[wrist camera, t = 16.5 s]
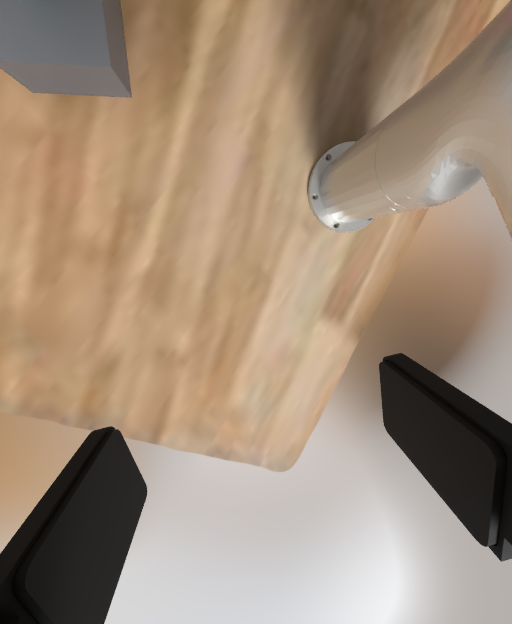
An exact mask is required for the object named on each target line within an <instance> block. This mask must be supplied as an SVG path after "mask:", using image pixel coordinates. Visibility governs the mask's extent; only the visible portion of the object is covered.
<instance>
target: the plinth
mask: <svg viewBox="0 0 512 624" xmlns="http://www.w3.org/2000/svg"><path fill="white" fill-rule="evenodd" d="M0 68H1V69H2V70H4V71H5V72H6V73H8V74H9V75H10V76H12V77H13V78H14V79H16V80H17V81H18V82H19V83H21V84H22V85H23V86H25V87H26V88H27V89H29V90H30V91H31V92H33V93H48V94H69V95H90V96H110V97H131V98H132V94H131V86H130V78H129V70H128V62H127V54H126V46H125V38H124V30H123V22H122V14H121V5H120V0H0Z"/></svg>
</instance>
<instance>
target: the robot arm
mask: <svg viewBox="0 0 512 624" xmlns="http://www.w3.org/2000/svg"><path fill="white" fill-rule="evenodd" d="M326 158H328V161H327V160H326ZM481 177H484V179H485V181H486V183H487V185H488V187H489V190H490V192H491V194H492V196H493V197H494V198H495V200H496V202H497V205H498V207H499V210H500V212H501V215H502V217H503V220H504V222H505V224H506V227H507V229H508V232H509V234H510V236H511V239H512V0H511V1H510V2H509V3H508V4H507V5H506V6H505V7H504V8H503V9H502V10H501V11H500V12H499V14H498V15H497V16H496V17H495V18H494V19H493V20H492V21H491V22H490V23H489V24H488V25H487V26H486V27H485V28H484V29H483V30H482V31H481V33H480V34H479V35H478V36H477V37H476V38H475V39H474V40H473V41H472V42H471V43H470V44H469V45H468V46H467V47H466V48H465V49H464V50H463V51H462V52H461V53H460V54H459V55H458V56H457V57H456V58H455V59H454V60H453V61H452V62H451V63H450V64H449V65H448V66H447V67H445V68H444V69H443V70H442V71H441V72H440V73H439V74H437V75H436V76H435V77H434V78H433V79H432V80H431V81H429V82H428V83H427V84H426V85H425V86H424V87H423V88H421V89H420V90H419V91H418V92H417V93H416V94H414V95H413V96H412V97H411V98H409V99H408V100H407V101H406V102H405V103H403V104H402V105H401V106H400V107H398V108H397V109H396V110H395V111H394V112H392V113H391V114H390V115H389V116H387V117H386V118H385V119H384V120H382V121H381V122H380V123H379V124H378V125H376V126H375V127H374V128H373V129H371V130H370V131H369V132H368V133H366V134H365V135H364V136H363V137H362V138H360V139H359V140H358V141H348V142H343V143H340V144H337V145H336V146H334V147H332V148H331V149H329V150H328V151H327V152H326V153H325V154H324V155H323V156H322V157H321V158H320V159H319V160H318V162H317V163H316V165H315V166H314V168H313V171H312V173H311V175H310V179H309V183H308V200H309V204H310V208H311V210H312V212H313V214H314V216H315V218H316V219H317V220H318V221H319V222H320V223H321V224H322V225H323V226H324V227H326V228H328V229H329V230H332V231H335V232H342V233H346V232H353V231H357V230H360V229H362V228H364V227H366V226H367V225H368V224H370V223H371V222H372V221H373V220H374V219H375V218H376V217H380V216H386V215H391V214H397V213H402V212H408V211H413V210H419V209H424V208H429V207H434V206H437V205H441V204H444V203H446V202H448V201H451V200H453V199H455V198H456V197H458V196H459V195H461V194H463V193H464V192H466V191H467V190H468V189H470V188H471V187H472V186H473V185H474V184H475V183H476V182H477V181H479V180H480V179H481ZM313 196H315V199H313V198H312V197H313ZM334 224H335V225H336V226H335V227H334ZM379 370H380V383H381V396H382V409H383V420H384V421H383V422H384V426H385V428H386V431H387V432H388V434H389V435H390V436H391V437H392V439H393V440H394V441H395V442H396V443H397V445H398V446H399V447H400V448H401V449H402V451H403V452H404V453H405V454H406V456H407V457H408V458H409V459H410V460H411V462H412V463H413V464H414V465H415V466H416V468H417V469H418V470H419V471H420V472H421V474H422V475H423V476H424V477H425V479H426V480H427V481H428V482H429V483H430V485H431V486H432V487H433V488H434V490H435V491H436V492H437V493H438V494H439V496H440V497H441V498H442V499H443V500H444V501H445V503H446V504H447V505H448V506H449V508H450V509H451V510H452V511H453V513H454V514H455V515H456V516H457V517H458V519H459V520H460V521H461V522H462V523H463V525H464V526H465V527H466V528H467V529H468V531H469V532H470V533H471V534H472V536H473V537H474V538H475V539H476V540H477V541H478V542H479V543H480V544H481V545H483V546H485V547H486V546H488V547H489V548H490V549H491V550H492V551H493V553H494V554H495V555H496V556H497V557H498V558H499V560H500V561H505V560H508V559H512V424H511V423H510V422H508V421H507V420H505V419H503V418H502V417H500V416H499V415H497V414H496V413H494V412H492V411H491V410H489V409H488V408H486V407H485V406H483V405H482V404H480V403H479V402H477V401H476V400H474V399H472V398H471V397H469V396H468V395H466V394H465V393H463V392H461V391H460V390H459V389H457V388H455V387H454V386H452V385H451V384H449V383H448V382H446V381H445V380H443V379H441V378H440V377H438V376H437V375H435V374H434V373H432V372H430V371H429V370H427V369H426V368H424V367H423V366H421V365H420V364H418V363H417V362H415V361H413V360H412V359H410V358H409V357H407V356H405V355H404V354H402V353H398V354H394V355H390V356H386V357H384V358H383V362H381V363H380V364H379ZM146 496H147V486H146V483H145V482H144V479H143V477H142V475H141V473H140V471H139V469H138V467H137V465H136V463H135V461H134V459H133V457H132V455H131V452H130V450H129V448H128V446H127V444H126V442H125V440H124V438H123V436H122V434H121V432H120V431H119V430H117V429H116V430H115V428H114V427H106V428H102V429H98V430H94V431H92V432H91V433H90V434H89V435H88V437H87V438H86V440H85V441H84V442H83V443H82V445H81V446H80V448H79V449H78V450H77V452H76V453H75V454H74V456H73V457H72V458H71V460H70V461H69V462H68V464H67V465H66V466H65V468H64V469H63V470H62V472H61V473H60V474H59V476H58V477H57V478H56V480H55V481H54V482H53V484H52V485H51V486H50V488H49V489H48V491H47V492H46V493H45V495H44V496H43V497H42V499H41V500H40V501H39V503H38V504H37V505H36V507H35V508H34V509H33V511H32V512H31V514H30V515H29V516H28V517H27V519H26V520H25V522H24V523H23V524H22V525H21V527H20V528H19V529H18V531H17V532H16V534H15V535H14V536H13V537H12V539H11V540H10V542H9V543H8V544H7V546H6V547H5V549H4V550H3V551H2V552H1V554H0V624H104V622H105V619H106V616H107V613H108V610H109V608H110V604H111V601H112V598H113V595H114V593H115V589H116V587H117V583H118V581H119V578H120V575H121V571H122V569H123V565H124V563H125V560H126V557H127V554H128V551H129V548H130V545H131V542H132V539H133V536H134V533H135V530H136V527H137V524H138V521H139V518H140V515H141V512H142V509H143V506H144V503H145V500H146Z"/></svg>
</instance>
